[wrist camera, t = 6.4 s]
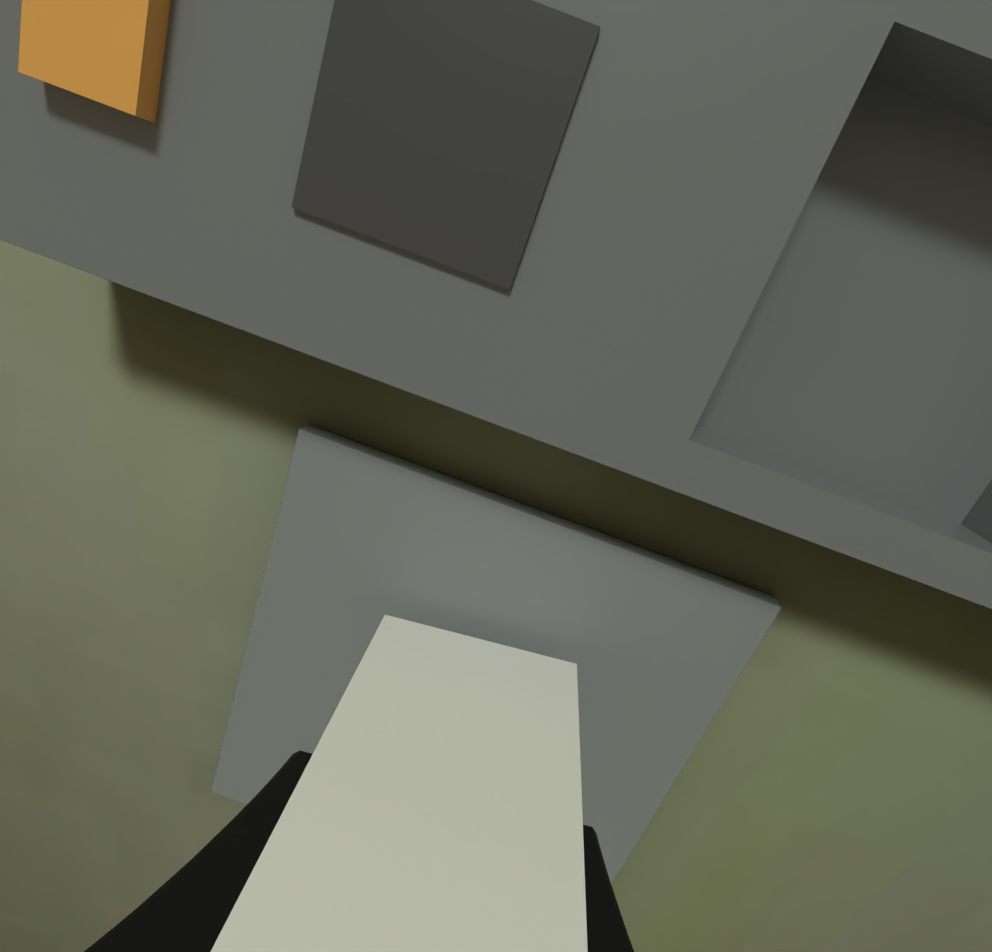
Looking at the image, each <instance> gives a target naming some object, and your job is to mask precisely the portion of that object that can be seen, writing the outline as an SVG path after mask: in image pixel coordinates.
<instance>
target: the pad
mask: <svg viewBox="0 0 992 952" xmlns="http://www.w3.org/2000/svg"><path fill="white" fill-rule="evenodd" d="M781 608H782V607H781V606H780V604H779V603H778V601H777V600H776V598H775V597H774V596H771V595H768V594H765V593H763V592H760V591H757V590H755V589H752V588H749V587H747V586H744V585H741V584H738V583H736V582H733V581H730V580H728V579H725V578H722V577H720V576H717V575H714V574H711V573H709V572H706V571H703V570H701V569H698V568H695V567H693V566H690V565H687V564H684V563H682V562H679V561H676V560H674V559H671V558H668V557H666V556H663V555H660V554H657V553H655V552H652V551H649V550H647V549H644V548H641V547H639V546H636V545H633V544H630V543H628V542H625V541H622V540H620V539H617V538H614V537H612V536H609V535H606V534H603V533H601V532H598V531H595V530H593V529H590V528H587V527H585V526H582V525H579V524H576V523H574V522H571V521H568V520H566V519H563V518H560V517H558V516H555V515H552V514H549V513H547V512H544V511H541V510H539V509H536V508H533V507H531V506H528V505H525V504H522V503H520V502H517V501H514V500H512V499H509V498H506V497H504V496H501V495H498V494H495V493H493V492H490V491H487V490H485V489H482V488H479V487H476V486H474V485H471V484H468V483H466V482H463V481H460V480H458V479H455V478H452V477H449V476H447V475H444V474H441V473H439V472H436V471H433V470H431V469H428V468H425V467H422V466H420V465H417V464H414V463H412V462H409V461H406V460H404V459H401V458H398V457H395V456H393V455H390V454H387V453H385V452H382V451H379V450H377V449H374V448H371V447H368V446H366V445H363V444H360V443H358V442H355V441H352V440H350V439H347V438H344V437H341V436H339V435H336V434H333V433H331V432H328V431H325V430H323V429H320V428H317V427H314V426H312V425H309V424H306V425H305V426H303V427H301V428H300V429H299V431H298V436H297V440H296V444H295V448H294V452H293V456H292V460H291V464H290V469H289V473H288V477H287V481H286V485H285V489H284V493H283V497H282V502H281V506H280V510H279V514H278V518H277V522H276V526H275V530H274V535H273V539H272V543H271V547H270V551H269V555H268V559H267V563H266V568H265V572H264V576H263V580H262V584H261V588H260V592H259V596H258V601H257V605H256V609H255V613H254V617H253V621H252V625H251V629H250V634H249V638H248V642H247V646H246V650H245V654H244V658H243V662H242V667H241V671H240V675H239V679H238V683H237V687H236V691H235V696H234V700H233V704H232V708H231V712H230V716H229V720H228V724H227V729H226V733H225V737H224V741H223V745H222V749H221V753H220V757H219V762H218V766H217V770H216V774H215V778H214V782H213V786H212V790H211V792H213V793H216V794H219V795H221V796H224V797H227V798H230V799H233V800H235V801H238V802H241V803H244V804H248V803H249V802H250V801H251V800H252V799H253V798H254V797H255V796H256V795H257V794H258V793H259V792H260V791H261V790H262V789H263V787H264V786H265V785H266V784H267V783H268V782H269V781H270V780H271V779H272V778H273V776H274V775H275V774H276V773H277V772H278V771H279V770H280V768H281V767H282V766H283V765H284V764H285V763H286V761H287V760H288V759H289V758H290V757H291V755H292V754H294V753H296V752H298V751H304V752H308V753H311V754H313V753H314V751H315V749H316V747H317V745H318V743H319V741H320V739H321V737H322V735H323V733H324V731H325V729H326V727H327V725H328V724H329V722H330V720H331V718H332V716H333V714H334V712H335V710H336V708H337V706H338V704H339V702H340V700H341V698H342V696H343V695H344V693H345V691H346V689H347V687H348V685H349V683H350V681H351V679H352V677H353V675H354V673H355V671H356V669H357V668H358V666H359V664H360V662H361V660H362V658H363V656H364V654H365V652H366V650H367V648H368V646H369V644H370V642H371V640H372V639H373V637H374V635H375V633H376V631H377V629H378V627H379V625H380V623H381V621H382V619H383V617H384V615H389V616H393V617H397V618H400V619H404V620H408V621H412V622H416V623H420V624H424V625H428V626H432V627H435V628H439V629H443V630H447V631H451V632H455V633H459V634H463V635H467V636H470V637H474V638H478V639H482V640H486V641H490V642H494V643H498V644H502V645H505V646H509V647H513V648H517V649H521V650H525V651H529V652H533V653H537V654H541V655H544V656H548V657H552V658H556V659H560V660H564V661H568V662H572V663H576V664H577V680H578V707H579V734H580V760H581V787H582V814H583V825H587V826H591V827H593V829H594V830H595V832H596V834H597V837H598V841H599V845H600V849H601V852H602V856H603V859H604V863H605V866H606V869H607V873H608V876H609V879H610V882H611V884H612V882H613V881H614V879H615V877H616V876H617V874H618V873H619V871H620V869H621V868H622V866H623V864H624V863H625V861H626V860H627V858H628V856H629V855H630V853H631V851H632V850H633V848H634V847H635V845H636V843H637V842H638V840H639V838H640V837H641V835H642V834H643V832H644V830H645V829H646V827H647V825H648V824H649V822H650V821H651V819H652V817H653V816H654V814H655V812H656V811H657V809H658V808H659V806H660V804H661V803H662V801H663V799H664V798H665V796H666V795H667V793H668V791H669V790H670V788H671V787H672V785H673V783H674V782H675V780H676V778H677V777H678V775H679V774H680V772H681V770H682V769H683V767H684V765H685V764H686V762H687V761H688V759H689V757H690V756H691V754H692V752H693V751H694V749H695V748H696V746H697V744H698V743H699V741H700V739H701V738H702V736H703V735H704V733H705V731H706V730H707V728H708V726H709V725H710V723H711V722H712V720H713V718H714V717H715V715H716V713H717V712H718V710H719V709H720V707H721V705H722V704H723V702H724V700H725V699H726V697H727V696H728V694H729V692H730V691H731V689H732V687H733V686H734V684H735V683H736V681H737V679H738V678H739V676H740V674H741V673H742V671H743V670H744V668H745V666H746V665H747V663H748V661H749V660H750V658H751V657H752V655H753V653H754V652H755V650H756V648H757V647H758V645H759V644H760V642H761V640H762V639H763V637H764V635H765V634H766V632H767V631H768V629H769V627H770V626H771V624H772V623H773V621H774V619H775V618H776V616H777V614H778V613H779V611H780V610H781Z"/></svg>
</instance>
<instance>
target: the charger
mask: <svg viewBox="0 0 992 952" xmlns="http://www.w3.org/2000/svg"><path fill="white" fill-rule="evenodd" d="M211 952H588V947H587V921H586V894H585V867H584V840H583V814H582V787H581V760H580V734H579V707H578V680H577V664H576V663H572V662H568V661H564V660H560V659H556V658H552V657H548V656H544V655H541V654H537V653H533V652H529V651H525V650H521V649H517V648H513V647H509V646H505V645H502V644H498V643H494V642H490V641H486V640H482V639H478V638H474V637H470V636H467V635H463V634H459V633H455V632H451V631H447V630H443V629H439V628H435V627H432V626H428V625H424V624H420V623H416V622H412V621H408V620H404V619H400V618H397V617H393V616H389V615H384V617H383V619H382V621H381V623H380V625H379V627H378V629H377V631H376V633H375V635H374V637H373V639H372V640H371V642H370V644H369V646H368V648H367V650H366V652H365V654H364V656H363V658H362V660H361V662H360V664H359V666H358V668H357V669H356V671H355V673H354V675H353V677H352V679H351V681H350V683H349V685H348V687H347V689H346V691H345V693H344V695H343V696H342V698H341V700H340V702H339V704H338V706H337V708H336V710H335V712H334V714H333V716H332V718H331V720H330V722H329V724H328V725H327V727H326V729H325V731H324V733H323V735H322V737H321V739H320V741H319V743H318V745H317V747H316V749H315V751H314V753H313V754H312V756H311V758H310V760H309V762H308V764H307V766H306V768H305V770H304V772H303V774H302V776H301V778H300V780H299V782H298V783H297V785H296V787H295V789H294V791H293V793H292V795H291V797H290V799H289V801H288V803H287V805H286V807H285V809H284V811H283V812H282V814H281V816H280V818H279V820H278V822H277V824H276V826H275V828H274V830H273V832H272V834H271V836H270V838H269V840H268V841H267V843H266V845H265V847H264V849H263V851H262V853H261V855H260V857H259V859H258V861H257V863H256V865H255V867H254V869H253V870H252V872H251V874H250V876H249V878H248V880H247V882H246V884H245V886H244V888H243V890H242V892H241V894H240V896H239V897H238V899H237V901H236V903H235V905H234V907H233V909H232V911H231V913H230V915H229V917H228V919H227V921H226V923H225V925H224V926H223V928H222V930H221V932H220V934H219V936H218V938H217V940H216V942H215V944H214V946H213V948H212V950H211Z"/></svg>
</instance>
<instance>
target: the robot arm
mask: <svg viewBox="0 0 992 952" xmlns="http://www.w3.org/2000/svg"><path fill="white" fill-rule="evenodd" d="M311 756H312V754H311V753H308V752H304V751H298V752H296V753H294V754H292V755H291V757H290V758H289V759H288V760H287V761H286V763H285V764H284V765H283V766H282V767H281V768H280V770H279V771H278V772H277V773H276V774H275V775H274V776H273V778H272V779H271V780H270V781H269V782H268V783H267V784H266V785H265V786H264V787H263V789H262V790H261V791H260V792H259V793H258V794H257V795H256V796H255V797H254V798H253V799H252V800H251V801H250V802H249V803H248V804H247V805H246V806H245V807H244V808H243V809H242V811H241V812H240V813H239V814H238V815H237V816H236V817H235V818H234V819H233V820H232V821H231V822H230V823H229V824H228V825H227V826H226V827H224V828H223V829H222V830H221V831H220V832H219V833H218V834H217V835H216V836H215V837H214V838H213V839H212V840H211V841H210V842H209V843H208V844H207V845H206V846H205V847H204V848H203V849H202V850H201V851H200V852H199V853H198V854H197V855H196V856H195V857H194V858H192V859H191V860H190V861H189V862H188V863H187V864H186V865H185V866H184V867H183V868H182V869H180V870H179V871H178V872H177V873H176V874H175V875H174V876H173V877H171V878H170V879H169V880H168V881H167V882H166V883H165V884H164V885H162V886H161V887H160V888H159V889H158V890H157V891H156V892H155V893H154V894H152V895H151V896H150V897H149V898H148V899H147V900H146V901H145V902H143V903H142V904H141V905H140V906H139V907H138V908H137V909H135V910H134V911H133V912H132V913H131V914H129V915H128V916H127V917H126V918H125V919H123V920H122V921H121V922H120V923H119V924H118V925H116V926H115V927H114V928H113V929H111V930H110V931H109V932H108V933H107V934H105V935H104V936H103V937H102V938H101V939H99V940H98V941H97V942H96V943H94V944H93V945H92V946H90V947H89V948H88V949H87V950H85V951H84V952H211V950H212V948H213V946H214V944H215V942H216V940H217V938H218V936H219V934H220V932H221V930H222V928H223V926H224V925H225V923H226V921H227V919H228V917H229V915H230V913H231V911H232V909H233V907H234V905H235V903H236V901H237V899H238V897H239V896H240V894H241V892H242V890H243V888H244V886H245V884H246V882H247V880H248V878H249V876H250V874H251V872H252V870H253V869H254V867H255V865H256V863H257V861H258V859H259V857H260V855H261V853H262V851H263V849H264V847H265V845H266V843H267V841H268V840H269V838H270V836H271V834H272V832H273V830H274V828H275V826H276V824H277V822H278V820H279V818H280V816H281V814H282V812H283V811H284V809H285V807H286V805H287V803H288V801H289V799H290V797H291V795H292V793H293V791H294V789H295V787H296V785H297V783H298V782H299V780H300V778H301V776H302V774H303V772H304V770H305V768H306V766H307V764H308V762H309V760H310V758H311ZM583 840H584V867H585V894H586V921H587V947H588V952H634V950H633V948H632V945H631V942H630V940H629V937H628V934H627V931H626V928H625V925H624V922H623V919H622V916H621V913H620V910H619V907H618V904H617V901H616V898H615V895H614V892H613V889H612V886H611V882H610V879H609V876H608V873H607V869H606V866H605V863H604V859H603V856H602V852H601V849H600V845H599V841H598V837H597V834H596V832H595V830H594V829H593V827H591V826H587V825H583Z"/></svg>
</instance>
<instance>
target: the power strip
mask: <svg viewBox="0 0 992 952" xmlns="http://www.w3.org/2000/svg"><path fill="white" fill-rule="evenodd" d="M0 240H2V241H5V242H7V243H10V244H13V245H15V246H18V247H21V248H23V249H26V250H29V251H31V252H34V253H37V254H39V255H42V256H45V257H48V258H50V259H53V260H56V261H58V262H61V263H64V264H66V265H69V266H72V267H74V268H77V269H80V270H82V271H85V272H88V273H91V274H93V275H96V276H99V277H101V278H104V279H107V280H109V281H112V282H115V283H117V284H120V285H123V286H125V287H128V288H131V289H133V290H136V291H139V292H142V293H144V294H147V295H150V296H152V297H155V298H158V299H160V300H163V301H166V302H168V303H171V304H174V305H176V306H179V307H182V308H185V309H187V310H190V311H193V312H195V313H198V314H201V315H203V316H206V317H209V318H211V319H214V320H217V321H219V322H222V323H225V324H227V325H230V326H233V327H236V328H238V329H241V330H244V331H246V332H249V333H252V334H254V335H257V336H260V337H262V338H265V339H268V340H270V341H273V342H276V343H279V344H281V345H284V346H287V347H289V348H292V349H295V350H297V351H300V352H303V353H305V354H308V355H311V356H313V357H316V358H319V359H321V360H324V361H327V362H330V363H332V364H335V365H338V366H340V367H343V368H346V369H348V370H351V371H354V372H356V373H359V374H362V375H364V376H367V377H370V378H373V379H375V380H378V381H381V382H383V383H386V384H389V385H391V386H394V387H397V388H399V389H402V390H405V391H407V392H410V393H413V394H415V395H418V396H421V397H424V398H426V399H429V400H432V401H434V402H437V403H440V404H442V405H445V406H448V407H450V408H453V409H456V410H458V411H461V412H464V413H467V414H469V415H472V416H475V417H477V418H480V419H483V420H485V421H488V422H491V423H493V424H496V425H499V426H501V427H504V428H507V429H509V430H512V431H515V432H518V433H520V434H523V435H526V436H528V437H531V438H534V439H536V440H539V441H542V442H544V443H547V444H550V445H552V446H555V447H558V448H561V449H563V450H566V451H569V452H571V453H574V454H577V455H579V456H582V457H585V458H587V459H590V460H593V461H595V462H598V463H601V464H603V465H606V466H609V467H612V468H614V469H617V470H620V471H622V472H625V473H628V474H630V475H633V476H636V477H638V478H641V479H644V480H646V481H649V482H652V483H655V484H657V485H660V486H663V487H665V488H668V489H671V490H673V491H676V492H679V493H681V494H684V495H687V496H689V497H692V498H695V499H697V500H700V501H703V502H706V503H708V504H711V505H714V506H716V507H719V508H722V509H724V510H727V511H730V512H732V513H735V514H738V515H740V516H743V517H746V518H749V519H751V520H754V521H757V522H759V523H762V524H765V525H767V526H770V527H773V528H775V529H778V530H781V531H783V532H786V533H789V534H791V535H794V536H797V537H800V538H802V539H805V540H808V541H810V542H813V543H816V544H818V545H821V546H824V547H826V548H829V549H832V550H834V551H837V552H840V553H843V554H845V555H848V556H851V557H853V558H856V559H859V560H861V561H864V562H867V563H869V564H872V565H875V566H877V567H880V568H883V569H885V570H888V571H891V572H894V573H896V574H899V575H902V576H904V577H907V578H910V579H912V580H915V581H918V582H920V583H923V584H926V585H928V586H931V587H934V588H937V589H939V590H942V591H945V592H947V593H950V594H953V595H955V596H958V597H961V598H963V599H966V600H969V601H971V602H974V603H977V604H979V605H982V606H985V607H988V608H990V609H992V0H0Z"/></svg>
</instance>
